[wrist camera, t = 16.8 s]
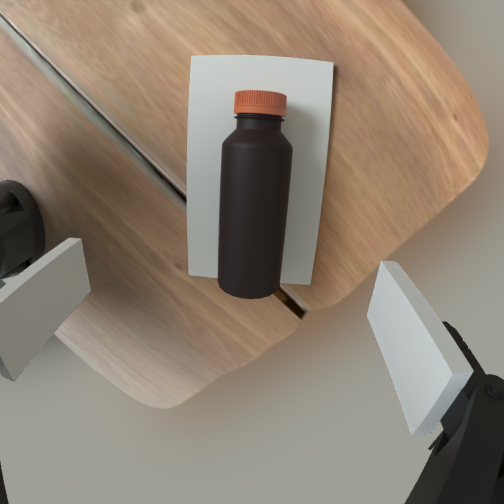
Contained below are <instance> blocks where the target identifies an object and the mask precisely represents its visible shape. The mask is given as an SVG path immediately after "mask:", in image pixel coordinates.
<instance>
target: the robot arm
mask: <svg viewBox="0 0 504 504" xmlns="http://www.w3.org/2000/svg"><path fill="white" fill-rule="evenodd" d="M43 250H44V228H43V223H42V219H41V216H40V213H39V210H38V208H37V206H36V204H35V202H34V200H33V198H32V197H31V195H30V194H29V192H28V191H27V190H26V189H25V188H24V187H23V186H22V185H20V184H19V183H17V182H15V181H12V180H5V181H2V182H0V279H4V278H8V277H13V276H16V277H15V278H14V279H12V280H11V281H10V282H9V283H7V284H6V285H5V286H4V287H3V288H1V289H0V373H1V375H2V376H3V377H5V378H7V379H9V380H11V381H13V382H15V381H16V379H17V378H18V377H19V375H20V374H21V373H22V371H23V370H24V369H25V368H26V366H27V365H28V364H29V363H30V361H31V360H32V359H33V358H34V356H35V355H36V354H37V353H38V351H39V350H40V349H41V348H42V346H43V345H44V344H45V343H46V342H47V340H48V339H49V338H50V337H51V336H52V334H53V333H54V332H55V331H56V330H57V329H58V327H59V326H60V325H61V324H62V323H63V322H64V321H65V319H66V318H67V317H68V316H69V315H70V314H71V313H72V311H73V310H74V309H75V308H76V307H77V306H78V305H79V304H80V303H81V301H82V300H83V299H84V298H85V297H86V296H87V295H88V294H89V293H90V292H91V288H90V283H89V278H88V273H87V268H86V263H85V257H84V251H83V245H82V239H80V238H68V239H67V240H65V241H64V242H62V243H61V244H59V245H58V246H56V247H55V248H54V249H52V250H51V251H49V252H48V253H47V254H45V255H44V256H43V257H42V254H43ZM367 318H368V320H369V322H370V325H371V328H372V330H373V332H374V335H375V337H376V340H377V342H378V345H379V347H380V350H381V352H382V355H383V357H384V360H385V362H386V365H387V368H388V370H389V373H390V376H391V378H392V381H393V384H394V387H395V389H396V392H397V395H398V398H399V401H400V403H401V406H402V409H403V412H404V415H405V418H406V421H407V424H408V427H409V430H410V433H411V436H416V435H422V434H427V433H431V432H432V431H433V430H434V429H435V427H436V426H437V425H438V423H439V422H440V421H441V424H442V426H443V429H444V430H443V431H442V432H441V434H440V435H439V436H438V437H437V439H436V440H435V441H434V442H433V443H432V444H431V446H430V447H429V448H428V449H429V450H431V449H432V448H433V447H434V448H433V450H432V453H431V455H430V457H429V459H428V461H427V463H426V465H425V467H424V469H423V471H422V473H421V475H420V477H419V479H418V481H417V482H416V484H415V486H414V488H413V490H412V491H411V493H410V495H409V497H408V498H407V500H406V502H405V503H404V504H504V380H503V379H502V378H500V377H498V376H496V375H492V374H488V375H486V374H485V372H484V371H483V369H482V368H481V366H480V364H479V363H478V361H477V360H476V358H475V357H474V355H473V354H472V352H471V350H470V349H468V346H467V345H466V343H465V342H464V341H463V339H462V337H461V336H460V334H459V333H458V332H457V330H456V329H455V328H453V327H452V326H451V325H450V324H449V323H447V322H441V320H440V319H439V317H438V316H437V314H436V313H435V312H434V310H433V309H432V307H431V306H430V305H429V304H428V302H427V301H426V299H425V298H424V296H423V295H422V294H421V292H420V291H419V290H418V288H417V287H416V286H415V284H414V283H413V282H412V281H411V279H410V278H409V277H408V275H407V274H406V273H405V272H404V270H403V269H402V268H401V267H400V265H399V264H398V263H397V262H393V261H381V262H380V267H379V271H378V275H377V279H376V283H375V287H374V290H373V294H372V298H371V301H370V305H369V308H368V312H367ZM0 504H9V503H8V499H7V494H6V490H5V485H4V480H3V475H2V469H1V463H0Z"/></svg>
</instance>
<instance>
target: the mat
mask: <svg viewBox="0 0 504 504" xmlns="http://www.w3.org/2000/svg"><path fill="white" fill-rule="evenodd" d="M332 82H333V63H331V62H324V61H317V60H309V59H299V58H289V57H276V56H257V55H202V56H191V70H190V86H189V106H188V134H187V241H188V270H189V276H200V277H211V278H218V234H219V201H220V175H221V153H222V143H223V141H224V140H225V139H226V138H227V137H228V136H229V135H230V134H231V133H232V132H233V131H234V130H235V129H236V123H237V119H235V118H234V117H235V116H237V114H234V101H235V93H236V92H237V91H241V90H264V91H273V92H278V93H282V94H285V95H286V96H287V102H286V114H285V117H282V119H284V120H285V121H284V122H281V132H282V133H283V135H284V136H285V137H286V139H287V140H288V141H289V142H290V144H291V145H292V148H293V155H292V167H291V178H290V189H289V200H288V211H287V221H286V231H285V241H284V250H283V259H282V269H281V277H280V283H286V284H301V285H310V284H311V278H312V271H313V265H314V258H315V251H316V244H317V237H318V230H319V222H320V214H321V206H322V198H323V189H324V180H325V171H326V161H327V150H328V139H329V127H330V114H331V99H332Z"/></svg>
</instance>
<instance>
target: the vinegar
mask: <svg viewBox="0 0 504 504" xmlns="http://www.w3.org/2000/svg"><path fill="white" fill-rule="evenodd" d="M286 102H287V96H286V95H285V94H282V93H278V92H273V91H264V90H241V91H237V92H236V93H235V101H234V114H237V116H235V117H234V118H235V119H237V123H236V129H235V130H234V131H233V132H232V133H231V134H230V135H229V136H228V137H227V138H226V139H225V140H224V141H223V143H222V153H221V175H220V201H219V234H218V283H219V287H220V288H221V289H222V290H223V291H224V292H226V293H228V294H230V295H232V296H235V297H238V298H244V299H260V298H264V297H268V296H270V295H271V294H273V293H275V292H276V291H277V290H278V288H279V286H280V277H281V269H282V259H283V250H284V241H285V231H286V221H287V211H288V200H289V189H290V178H291V167H292V155H293V148H292V145H291V144H290V142H289V141H288V140H287V139H286V137H285V136H284V135H283V133H282V132H281V122H284V121H285V120H284V119H282V117H285V114H286Z"/></svg>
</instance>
